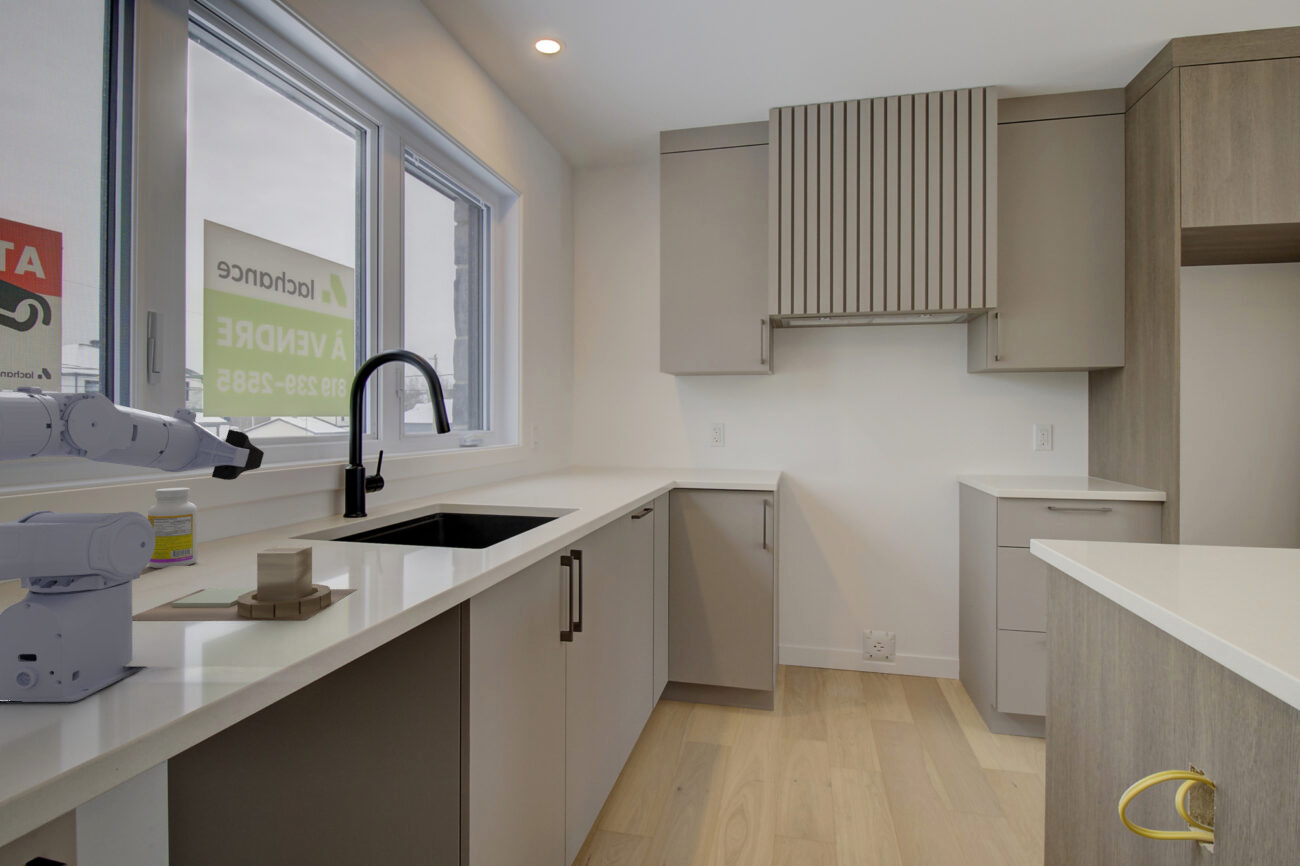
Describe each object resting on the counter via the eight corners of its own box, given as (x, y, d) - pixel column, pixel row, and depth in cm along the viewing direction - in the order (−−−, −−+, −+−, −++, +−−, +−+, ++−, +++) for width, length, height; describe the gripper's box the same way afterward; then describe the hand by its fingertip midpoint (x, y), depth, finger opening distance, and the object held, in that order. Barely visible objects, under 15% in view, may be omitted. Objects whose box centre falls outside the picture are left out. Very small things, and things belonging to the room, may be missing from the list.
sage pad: (229, 606, 79) (229, 602, 79) (172, 606, 79) (172, 602, 79) (262, 592, 86) (262, 588, 86) (209, 592, 86) (209, 588, 86)
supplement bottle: (162, 561, 111) (162, 487, 111) (205, 560, 112) (204, 486, 112) (139, 570, 104) (138, 491, 104) (184, 568, 105) (184, 490, 105)
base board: (305, 630, 74) (305, 607, 74) (120, 631, 74) (120, 607, 74) (357, 597, 88) (357, 578, 88) (201, 598, 88) (201, 578, 88)
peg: (294, 610, 78) (294, 553, 78) (256, 610, 78) (256, 553, 78) (312, 600, 82) (312, 546, 82) (276, 600, 82) (276, 546, 82)
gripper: (219, 414, 66) (294, 433, 80) (88, 388, 67) (184, 411, 81) (199, 481, 66) (278, 488, 79) (67, 454, 66) (167, 466, 80)
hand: (230, 453), depth 80 cm, fingers open, 7 cm apart
